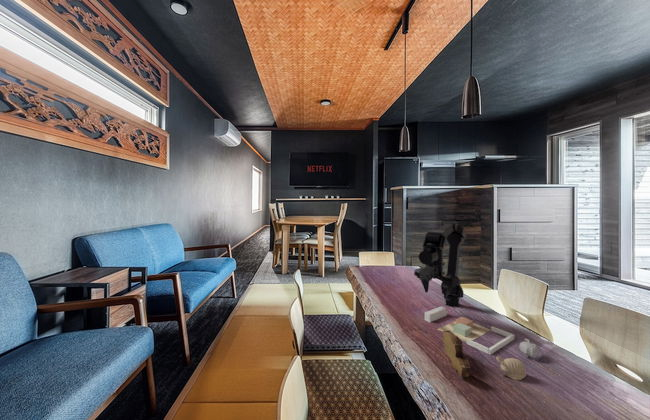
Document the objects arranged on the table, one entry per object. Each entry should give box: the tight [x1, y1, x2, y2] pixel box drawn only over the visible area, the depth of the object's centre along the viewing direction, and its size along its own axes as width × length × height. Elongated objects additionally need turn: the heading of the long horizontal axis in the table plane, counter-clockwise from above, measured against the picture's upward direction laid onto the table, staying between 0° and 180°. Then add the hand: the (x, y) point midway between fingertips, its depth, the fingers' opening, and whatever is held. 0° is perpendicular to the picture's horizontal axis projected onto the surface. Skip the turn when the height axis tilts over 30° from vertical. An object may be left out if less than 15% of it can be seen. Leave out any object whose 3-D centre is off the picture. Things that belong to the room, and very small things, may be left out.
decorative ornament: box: [496, 355, 527, 381], centre depth 77 cm, size 4×8×5 cm, turn 78°
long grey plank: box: [424, 305, 448, 323], centre depth 111 cm, size 12×2×5 cm, turn 122°
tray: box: [466, 325, 516, 356], centre depth 92 cm, size 18×8×3 cm, turn 122°
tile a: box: [455, 316, 474, 328], centre depth 104 cm, size 4×4×2 cm
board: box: [437, 320, 491, 344], centre depth 101 cm, size 17×12×2 cm
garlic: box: [518, 338, 540, 360], centre depth 86 cm, size 6×5×5 cm
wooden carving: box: [441, 331, 472, 378], centre depth 81 cm, size 16×5×10 cm, turn 179°
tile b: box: [453, 323, 471, 337], centre depth 98 cm, size 4×4×2 cm
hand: (435, 295), depth 111 cm, fingers open, 9 cm apart
